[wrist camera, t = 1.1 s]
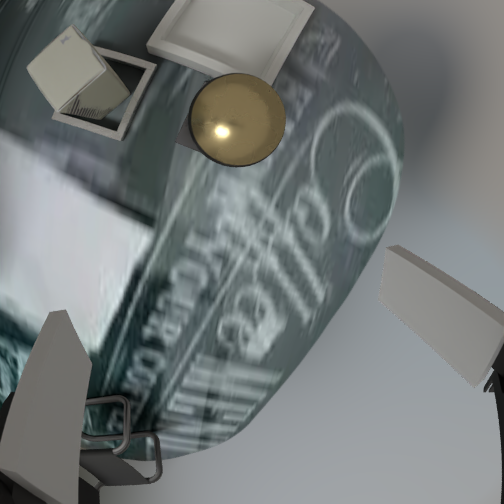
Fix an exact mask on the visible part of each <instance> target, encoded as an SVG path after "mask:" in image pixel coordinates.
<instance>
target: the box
mask: <svg viewBox="0 0 504 504" xmlns="http://www.w3.org/2000/svg"><path fill="white" fill-rule="evenodd" d="M27 70H28V72H29V74H30V75H31V77H32V78H33V80H34V82H35V83H36V85H37V86H38V88H39V89H40V91H41V92H42V93H43V95H44V96H45V98H46V99H47V100H48V102H49V103H50V104H51V105H52V107H53V108H54V109H55V110H56V111H57V112H60V113H67V114H73V115H78V116H83V117H88V118H92V119H98V120H101V119H102V118H103V117H105V116H106V115H107V114H108V113H109V112H111V111H112V110H113V109H114V108H116V107H117V106H118V105H119V104H120V103H121V102H123V101H124V100H125V99H126V98H127V97H128V96H129V95H130V92H129V90H128V89H127V87H126V86H125V85H124V83H123V82H122V81H121V79H120V78H119V77H118V75H117V74H116V73H115V72H114V70H113V69H112V68H111V67H110V65H109V64H108V63H107V62H106V61H105V59H104V58H103V57H102V56H101V55H100V53H99V52H98V51H97V50H96V49H95V47H94V46H93V45H92V44H91V43H90V42H89V41H88V39H87V38H86V37H85V36H84V35H83V34H82V33H81V31H80V30H79V29H78V28H77V27H76V26H75V25H74V24H72V25H71V26H69V27H68V28H67V29H66V30H64V31H63V32H62V33H61V34H60V35H58V36H57V37H56V38H55V39H54V40H53V41H52V42H51V43H50V44H48V45H47V46H46V47H45V48H44V49H43V50H42V51H41V52H40V53H39V54H38V55H37V56H36V57H35V58H34V59H33V60H32V62H31V63H30V64H29V65H28V66H27Z"/></svg>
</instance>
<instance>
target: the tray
mask: <svg viewBox="0 0 504 504" xmlns="http://www.w3.org/2000/svg"><path fill="white" fill-rule="evenodd" d="M314 9H315V7H313V6H312V5H310V4H308V3H307V2H305V1H303V0H175V2H174V3H173V4H172V6H171V7H170V9H169V10H168V12H167V13H166V14H165V16H164V17H163V19H162V20H161V22H160V23H159V25H158V26H157V28H156V30H155V31H154V33H153V34H152V36H151V38H150V39H149V41H148V42H147V44H146V46H147V50H148V53H150V54H153V55H156V56H159V57H162V58H164V59H167V60H170V61H173V62H176V63H178V64H181V65H184V66H186V67H189V68H191V69H194V70H196V71H199V72H201V73H204V74H206V75H208V76H211V77H213V78H216V77H219V76H221V75H225V74H230V73H244V74H249V75H253V76H255V77H258V78H260V79H262V80H263V81H265V82H266V83H268V84H269V85H270V86H272V84H273V82H274V80H275V78H276V76H277V75H278V73H279V71H280V69H281V67H282V65H283V63H284V62H285V60H286V58H287V56H288V54H289V52H290V51H291V49H292V47H293V45H294V43H295V42H296V40H297V38H298V36H299V35H300V33H301V31H302V29H303V28H304V26H305V24H306V22H307V21H308V19H309V17H310V16H311V14H312V12H313V11H314Z"/></svg>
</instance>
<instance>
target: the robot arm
mask: <svg viewBox="0 0 504 504" xmlns="http://www.w3.org/2000/svg"><path fill="white" fill-rule="evenodd" d="M378 301H380V303H382V304H383V305H384V306H385V307H386V308H387V309H389V310H390V311H391V312H392V313H393V314H395V316H397V317H398V318H399V319H400V320H401V321H402V322H403V323H404V324H406V325H407V326H408V327H409V328H410V329H411V330H412V331H414V332H415V333H416V334H417V335H418V336H419V337H420V338H421V339H422V340H423V341H425V342H426V343H427V344H428V345H429V346H430V347H431V348H432V349H433V350H434V351H435V352H436V353H437V354H439V355H440V356H441V357H442V358H443V359H444V360H445V361H446V362H447V363H448V364H449V365H451V367H452V368H453V369H455V370H456V371H457V372H458V373H459V374H460V375H461V376H462V377H463V378H464V379H465V380H466V381H467V382H468V383H469V384H470V385H471V386H472V387H473V388H475V387H476V386H477V385H478V384H479V383H480V382H481V381H482V380H484V378H485V377H486V375H487V374H488V372H489V370H490V368H491V367H492V368H493V369H494V371H493V373H492V375H491V376H490V378H489V380H488V381H487V383H486V384H485V386H484V392H486V391H487V389H488V388H489V386H490V385H491V383H493V384H492V386H491V388H490V389H489V392H495V398H496V404H497V411H498V419H499V426H500V437H501V453H502V493H501V504H504V312H503V311H501V310H500V309H499V308H498V307H496V306H495V305H493V304H492V303H490V302H489V301H488V300H486V299H485V298H483V297H482V296H480V295H479V294H477V293H476V292H474V291H473V290H471V289H469V288H468V287H466V286H465V285H463V284H462V283H460V282H459V281H457V280H456V279H454V278H452V277H451V276H449V275H448V274H446V273H445V272H443V271H441V270H440V269H438V268H436V267H435V266H433V265H432V264H430V263H428V262H427V261H425V260H423V259H422V258H420V257H418V256H417V255H415V254H413V253H412V252H410V251H408V250H406V249H405V248H403V247H401V246H399V245H395V246H391V247H386V252H385V260H384V267H383V273H382V280H381V286H380V292H379V298H378ZM91 368H92V363H91V361H90V359H89V357H88V355H87V353H86V351H85V349H84V347H83V345H82V343H81V341H80V339H79V337H78V335H77V333H76V331H75V329H74V327H73V324H72V322H71V320H70V318H69V316H68V313H67V311H66V310H60V311H53V312H50V313H49V315H48V317H47V319H46V321H45V323H44V325H43V327H42V329H41V331H40V333H39V335H38V337H37V340H36V342H35V344H34V346H33V349H32V351H31V353H30V356H29V358H28V360H27V363H26V365H25V368H24V370H23V373H22V375H21V378H20V381H19V383H18V386H17V389H16V392H11V393H10V394H9V396H8V397H7V399H6V400H5V401H4V403H3V405H2V408H1V411H0V504H46V503H47V504H78V477H79V457H80V444H81V434H82V425H83V417H84V409H85V402H86V396H87V390H88V384H89V378H90V373H91Z"/></svg>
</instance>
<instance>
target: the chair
mask: <svg viewBox="0 0 504 504" xmlns="http://www.w3.org/2000/svg"><path fill="white" fill-rule="evenodd" d="M118 401H119V402H122V403H123V404H124V424H123V434H121V435H110V436H98V437H93V436H88V435H85V434H84V433H82V434H81V437H82V438H83V439H86V440H89V441H111V440H122V439H123V441H122V443H121V444H120V445H119V446H118V447H117V448H109V449H89V450H80V457H79V465H80V466H82V467H83V468H85V469H86V470H87V471H89V472H90V473H91V474H93V475H94V476H95V477H96V478H97V479H98V480H100V482H98V483H97V484H96V485H95V487H93V486H91V485H90V484H89V483H87V482H86V481H84V480H83V479H82V478H80V477H78V504H100V503H99V502H100V500H99V491H100V489H101V487H103V486H121V485H140V484H151V483H154V482H156V481H157V480H159V479H160V477H161V476H162V473H163V472H162V471H163V469H162V459H161V450H160V441H159V438H158V436H157V435H156V434H155V433H152V432H149V431H145V432H137V433H130V425H131V405H130V402H129V400H128V399H127V398H126V397H124V396H121V395H114V396H108V397H100V398H93V399H86V402H85V406H86V405H95V404H103V403H110V402H118ZM139 437H151V438H153V440H154V447H155V459H156V468H157V469H156V474H155V475H154V476H153V477H151V478H144V477H143V476H142V475H141V474H140V473H139V472H138V471H136V470H135V469H134V468H133V467H132V466H130V465H129V464H128V463H126V462H125V461H123V460H122V459H120V458H119V457H117V456H115V455H119V454H121V453H123V452H124V451H125V450H126V449H127V448H128V447H129V444H130V439H131V438H139ZM46 504H47V503H46Z"/></svg>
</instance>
